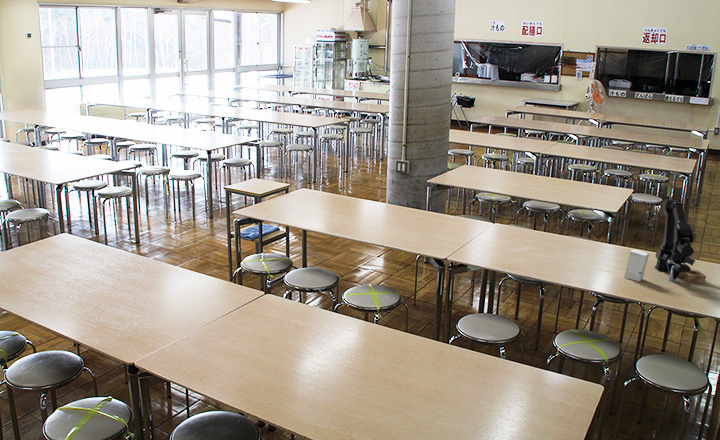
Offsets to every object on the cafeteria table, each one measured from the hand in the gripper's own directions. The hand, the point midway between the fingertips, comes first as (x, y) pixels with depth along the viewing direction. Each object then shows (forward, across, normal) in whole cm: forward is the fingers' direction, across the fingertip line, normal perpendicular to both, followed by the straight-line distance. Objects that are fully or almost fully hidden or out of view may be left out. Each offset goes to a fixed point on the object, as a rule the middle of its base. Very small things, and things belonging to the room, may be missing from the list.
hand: (672, 278), depth 309 cm
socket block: (+2, +4, -12) cm, 13 cm away
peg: (+2, 0, 0) cm, 2 cm away
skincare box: (+2, 0, +20) cm, 20 cm away
